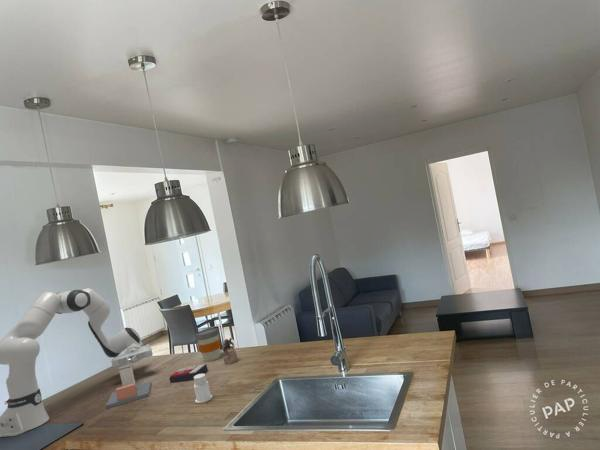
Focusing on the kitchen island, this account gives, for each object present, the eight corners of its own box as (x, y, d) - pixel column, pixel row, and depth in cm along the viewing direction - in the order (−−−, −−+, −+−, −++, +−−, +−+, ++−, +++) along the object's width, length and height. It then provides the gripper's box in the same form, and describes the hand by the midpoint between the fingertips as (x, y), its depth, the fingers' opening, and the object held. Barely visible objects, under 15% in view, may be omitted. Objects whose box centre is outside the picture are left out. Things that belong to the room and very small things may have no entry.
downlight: (191, 401, 182) (187, 377, 181) (206, 393, 186) (202, 371, 186) (201, 405, 176) (196, 381, 175) (216, 398, 180) (211, 374, 180)
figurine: (226, 360, 229) (221, 338, 229) (239, 358, 229) (234, 335, 229) (223, 365, 222) (218, 342, 222) (236, 362, 222) (231, 339, 222)
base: (106, 408, 195) (103, 394, 195) (113, 395, 213) (110, 382, 213) (148, 396, 200) (145, 382, 200) (151, 384, 217) (148, 371, 217)
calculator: (180, 367, 223) (206, 362, 219) (182, 376, 223) (208, 371, 219) (168, 376, 213) (195, 371, 209) (170, 385, 213) (197, 380, 209)
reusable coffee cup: (213, 362, 231) (207, 334, 231) (196, 362, 238) (190, 335, 238) (228, 353, 242) (222, 327, 242) (212, 354, 249) (206, 328, 249)
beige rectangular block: (123, 393, 206) (118, 369, 206) (125, 390, 210) (119, 366, 210) (135, 390, 208) (130, 365, 207) (136, 387, 212) (131, 363, 212)
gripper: (112, 353, 236) (107, 360, 222) (151, 342, 241) (149, 349, 227) (115, 365, 236) (110, 373, 222) (154, 354, 241) (152, 360, 227)
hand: (130, 360), depth 225 cm, fingers closed
